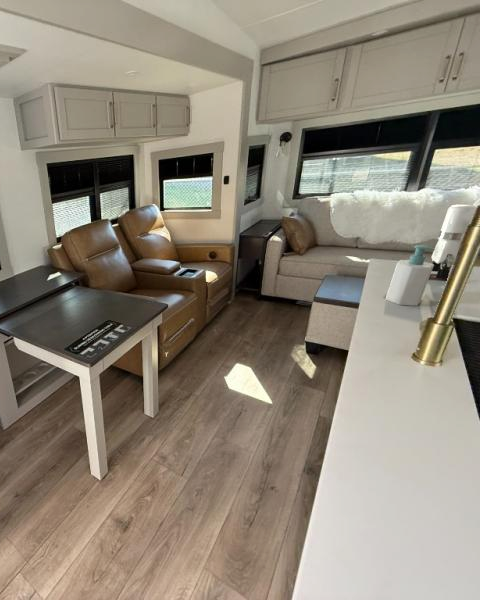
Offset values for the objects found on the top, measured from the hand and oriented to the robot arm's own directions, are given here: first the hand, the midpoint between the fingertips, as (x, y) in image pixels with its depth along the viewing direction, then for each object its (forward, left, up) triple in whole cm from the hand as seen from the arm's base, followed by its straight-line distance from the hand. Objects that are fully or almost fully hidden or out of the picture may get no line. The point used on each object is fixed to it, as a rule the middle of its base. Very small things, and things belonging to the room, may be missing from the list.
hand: (437, 274), depth 138 cm
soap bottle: (+15, +31, -3) cm, 35 cm away
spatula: (+2, 0, -3) cm, 4 cm away
